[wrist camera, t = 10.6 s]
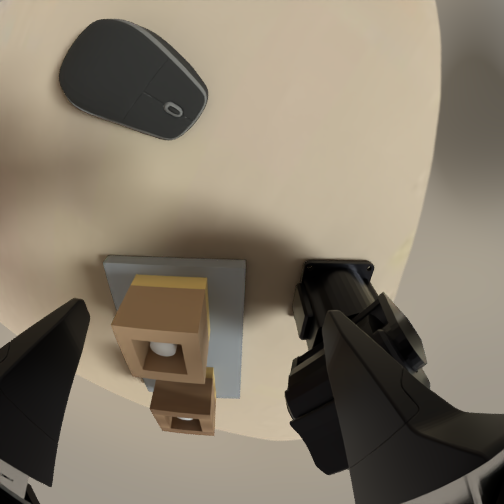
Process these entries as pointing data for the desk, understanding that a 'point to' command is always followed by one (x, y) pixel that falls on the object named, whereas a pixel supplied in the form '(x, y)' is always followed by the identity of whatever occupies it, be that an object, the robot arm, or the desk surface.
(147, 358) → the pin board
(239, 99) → the desk surface
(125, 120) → the computer mouse
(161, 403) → the sleeve
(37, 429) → the robot arm
